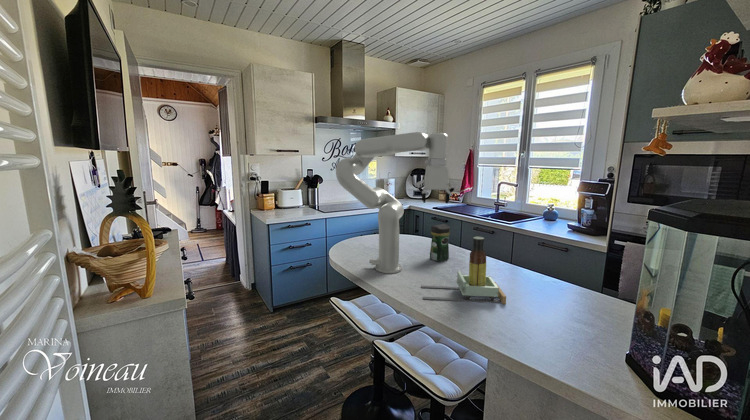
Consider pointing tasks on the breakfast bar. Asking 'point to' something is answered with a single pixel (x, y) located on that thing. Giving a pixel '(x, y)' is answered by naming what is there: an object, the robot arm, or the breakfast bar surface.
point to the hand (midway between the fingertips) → (435, 202)
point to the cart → (477, 287)
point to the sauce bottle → (477, 263)
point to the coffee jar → (440, 242)
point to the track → (500, 295)
